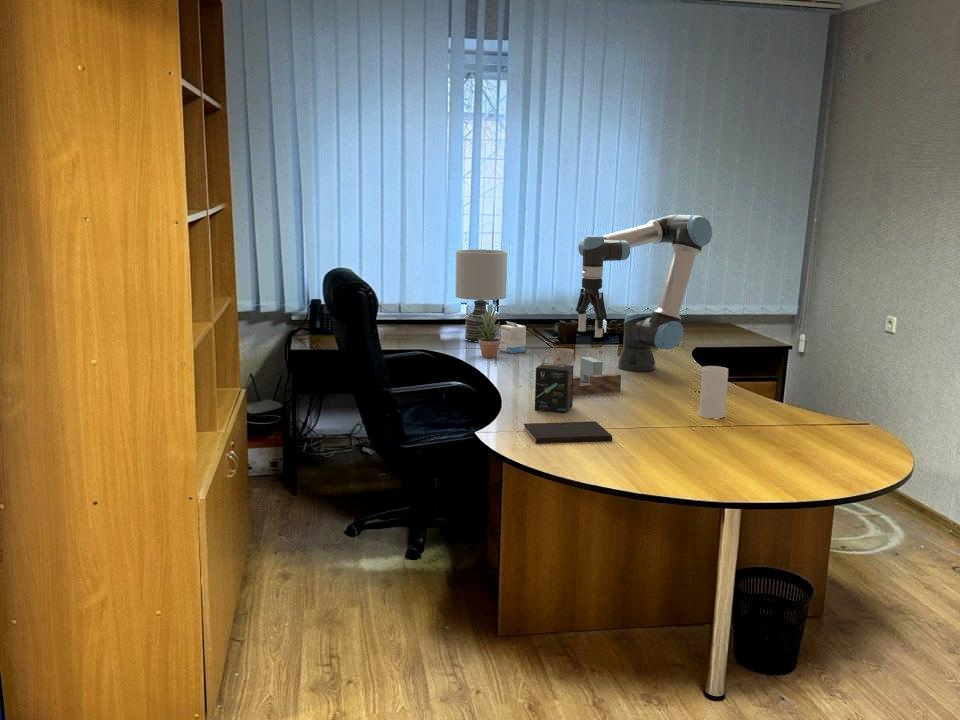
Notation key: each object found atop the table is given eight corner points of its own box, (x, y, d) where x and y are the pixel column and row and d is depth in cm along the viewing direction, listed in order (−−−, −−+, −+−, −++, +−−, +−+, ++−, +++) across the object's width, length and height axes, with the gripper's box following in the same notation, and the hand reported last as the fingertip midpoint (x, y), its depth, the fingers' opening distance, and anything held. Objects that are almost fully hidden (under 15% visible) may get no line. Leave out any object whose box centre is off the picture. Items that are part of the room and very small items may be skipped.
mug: (571, 377, 345) (572, 352, 343) (539, 375, 347) (540, 350, 345) (573, 373, 353) (574, 348, 351) (542, 371, 355) (543, 347, 353)
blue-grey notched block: (589, 379, 342) (590, 356, 340) (601, 385, 333) (602, 361, 331) (579, 380, 340) (580, 357, 339) (592, 386, 331) (593, 362, 329)
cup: (710, 420, 285) (714, 371, 282) (693, 414, 292) (697, 367, 289) (730, 417, 289) (733, 369, 286) (712, 412, 296) (716, 365, 293)
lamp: (505, 345, 413) (507, 253, 404) (453, 343, 413) (455, 252, 405) (504, 336, 436) (506, 249, 428) (455, 335, 436) (457, 248, 428)
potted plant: (495, 353, 391) (497, 298, 386) (503, 357, 382) (504, 300, 377) (474, 354, 388) (475, 298, 383) (481, 358, 379) (482, 301, 374)
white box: (526, 352, 396) (527, 322, 394) (511, 353, 392) (511, 323, 389) (514, 348, 403) (515, 319, 401) (499, 350, 399) (500, 321, 396)
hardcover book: (523, 430, 271) (523, 423, 271) (595, 428, 275) (595, 421, 275) (535, 445, 256) (536, 438, 255) (612, 443, 260) (612, 435, 259)
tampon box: (572, 407, 299) (574, 364, 296) (566, 413, 290) (567, 370, 287) (541, 404, 302) (542, 362, 299) (534, 410, 294) (535, 367, 291)
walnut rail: (616, 389, 326) (617, 373, 325) (620, 391, 324) (621, 375, 323) (547, 394, 316) (548, 377, 315) (551, 396, 314) (551, 379, 313)
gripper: (568, 274, 339) (566, 329, 343) (599, 281, 316) (596, 340, 320) (585, 274, 341) (584, 328, 346) (617, 281, 319) (615, 339, 323)
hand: (590, 334), depth 333 cm, fingers open, 13 cm apart
